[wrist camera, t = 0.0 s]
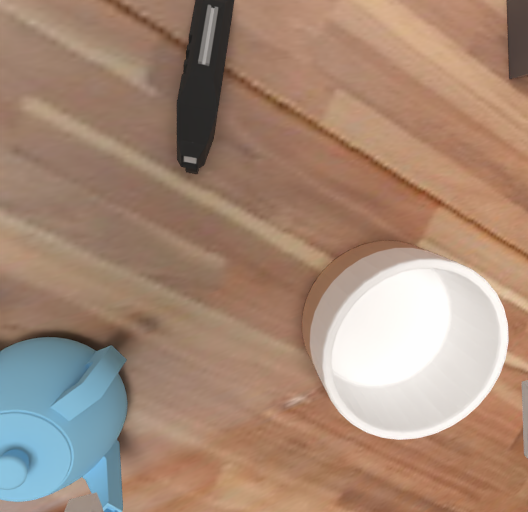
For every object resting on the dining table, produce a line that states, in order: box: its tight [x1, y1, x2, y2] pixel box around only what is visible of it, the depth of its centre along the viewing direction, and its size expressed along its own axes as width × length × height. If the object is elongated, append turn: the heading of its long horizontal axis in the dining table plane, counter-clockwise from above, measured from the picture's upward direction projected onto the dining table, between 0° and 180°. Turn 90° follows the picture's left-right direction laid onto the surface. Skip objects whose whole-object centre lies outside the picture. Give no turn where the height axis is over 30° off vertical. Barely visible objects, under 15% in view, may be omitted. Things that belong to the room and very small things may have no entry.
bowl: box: [302, 241, 508, 440], centre depth 39 cm, size 17×17×8 cm
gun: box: [177, 0, 234, 174], centre depth 33 cm, size 3×16×10 cm, turn 170°
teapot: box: [0, 337, 127, 512], centre depth 35 cm, size 15×15×11 cm
